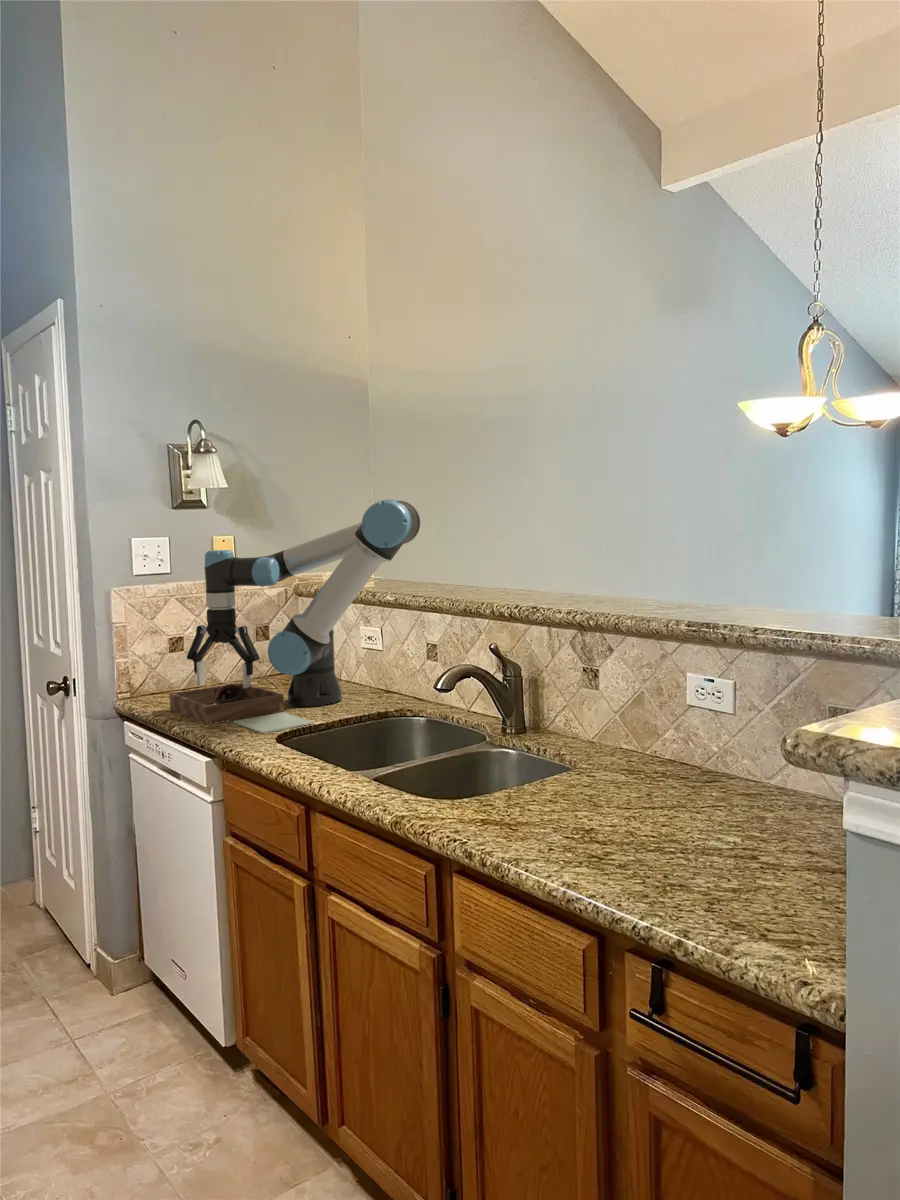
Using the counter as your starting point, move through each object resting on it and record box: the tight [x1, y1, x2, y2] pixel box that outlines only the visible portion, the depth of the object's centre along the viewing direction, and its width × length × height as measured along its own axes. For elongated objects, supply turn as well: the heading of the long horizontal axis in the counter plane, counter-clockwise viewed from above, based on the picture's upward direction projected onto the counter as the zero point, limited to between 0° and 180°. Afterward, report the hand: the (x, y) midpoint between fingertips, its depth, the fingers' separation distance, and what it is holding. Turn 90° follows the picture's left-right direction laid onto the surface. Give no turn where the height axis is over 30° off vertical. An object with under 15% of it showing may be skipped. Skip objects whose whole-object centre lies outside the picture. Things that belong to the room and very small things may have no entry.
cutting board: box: [233, 711, 315, 734], centre depth 226 cm, size 16×14×1 cm
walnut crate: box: [169, 682, 285, 725], centre depth 242 cm, size 24×22×4 cm
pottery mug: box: [214, 683, 248, 705], centre depth 243 cm, size 12×10×8 cm
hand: (224, 686), depth 242 cm, fingers open, 13 cm apart
